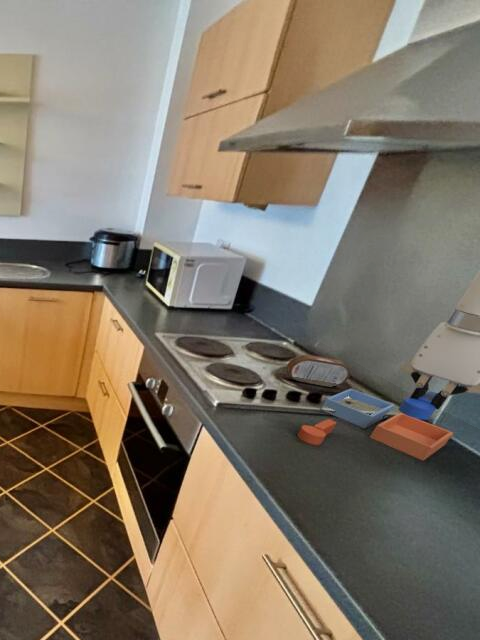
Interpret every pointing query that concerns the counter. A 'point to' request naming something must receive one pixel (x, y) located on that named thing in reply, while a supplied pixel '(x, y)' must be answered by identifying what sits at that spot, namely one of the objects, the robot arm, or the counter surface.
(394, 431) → the terracotta bin
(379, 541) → the counter surface
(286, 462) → the counter surface
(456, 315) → the robot arm
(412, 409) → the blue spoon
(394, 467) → the counter surface
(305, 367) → the tin
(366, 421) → the blue bin
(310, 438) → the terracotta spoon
